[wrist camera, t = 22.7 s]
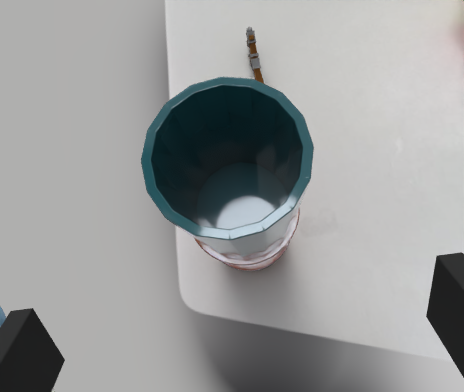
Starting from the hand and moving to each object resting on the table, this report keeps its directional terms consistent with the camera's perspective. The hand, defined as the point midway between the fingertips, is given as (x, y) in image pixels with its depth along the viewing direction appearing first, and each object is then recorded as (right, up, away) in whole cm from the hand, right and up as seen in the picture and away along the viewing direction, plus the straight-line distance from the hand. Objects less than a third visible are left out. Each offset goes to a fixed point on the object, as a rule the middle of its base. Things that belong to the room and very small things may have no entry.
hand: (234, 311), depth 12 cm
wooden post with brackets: (+3, +20, +35) cm, 40 cm away
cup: (+1, +3, +14) cm, 14 cm away
